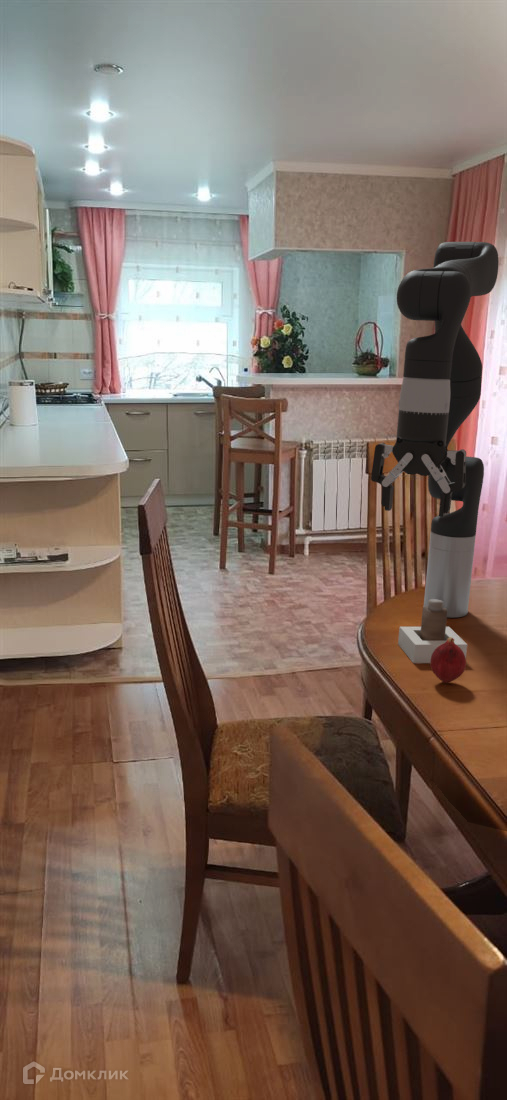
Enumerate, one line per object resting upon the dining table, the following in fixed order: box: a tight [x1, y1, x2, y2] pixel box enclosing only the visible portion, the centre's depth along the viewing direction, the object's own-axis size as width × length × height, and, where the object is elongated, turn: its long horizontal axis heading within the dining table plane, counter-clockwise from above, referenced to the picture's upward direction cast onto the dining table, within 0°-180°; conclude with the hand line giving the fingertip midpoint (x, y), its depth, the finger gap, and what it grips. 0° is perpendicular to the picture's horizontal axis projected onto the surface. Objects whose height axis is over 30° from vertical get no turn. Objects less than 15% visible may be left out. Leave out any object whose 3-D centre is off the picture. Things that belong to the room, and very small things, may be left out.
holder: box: [397, 626, 468, 664], centre depth 154 cm, size 10×10×4 cm
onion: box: [430, 637, 467, 684], centre depth 140 cm, size 6×6×8 cm
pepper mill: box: [420, 599, 448, 641], centre depth 153 cm, size 4×4×10 cm
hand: (414, 512), depth 132 cm, fingers open, 8 cm apart
